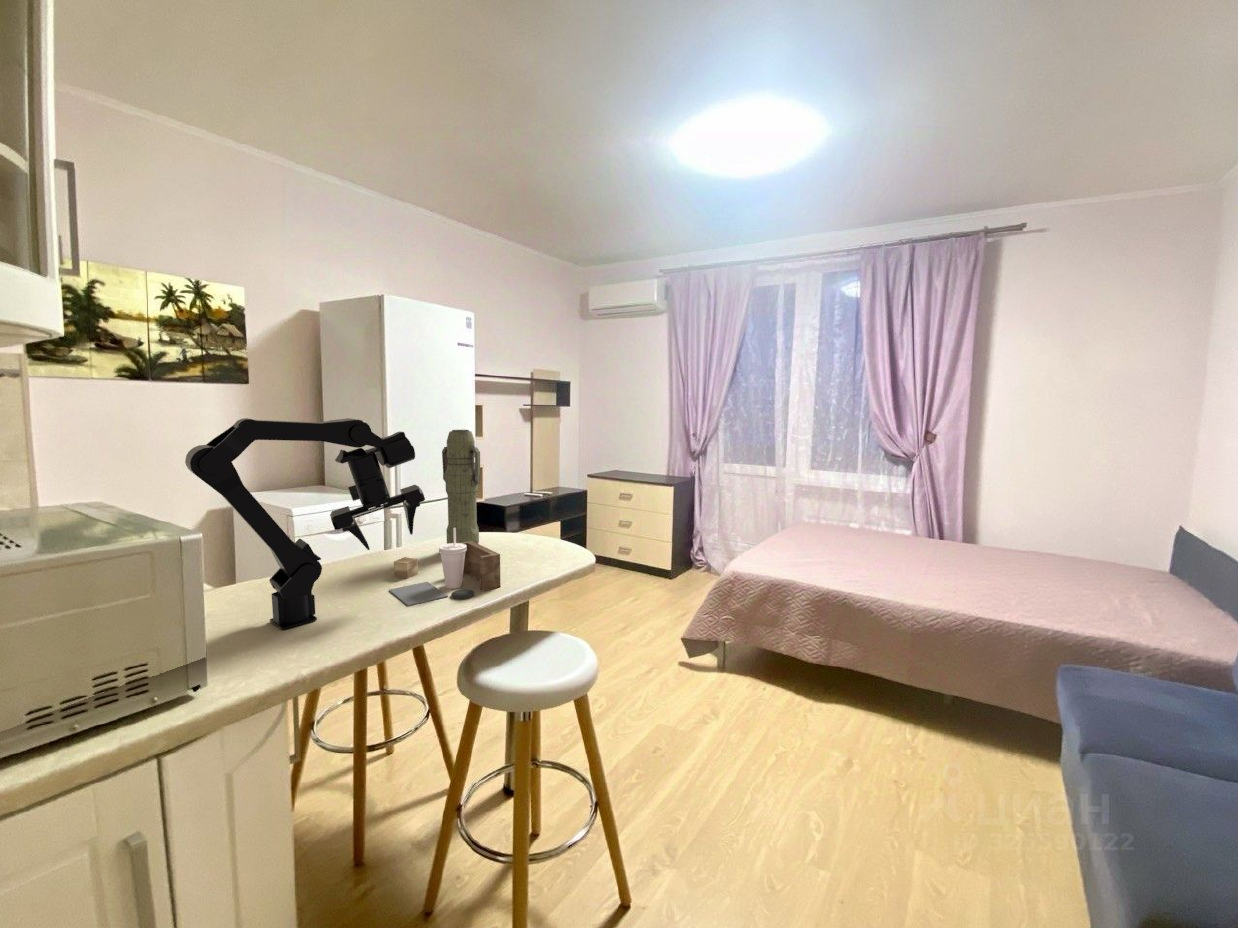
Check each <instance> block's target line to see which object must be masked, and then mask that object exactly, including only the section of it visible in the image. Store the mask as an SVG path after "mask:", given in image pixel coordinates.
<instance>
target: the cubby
mask: <svg viewBox="0 0 1238 928" xmlns="http://www.w3.org/2000/svg"><path fill="white" fill-rule="evenodd" d="M462 544H465V545H466V546H467V550H466V551H465V560H464V569H463V576H464V575H467V574H468V575H470V576H472V577H474V578H475V579H477V580H479V584H480V585H479V586H480V587H479V589H480V590H481V591H482V592H484V591H483V590H485V591H488V590H493V588H494V589H498V588H501V554H500V553H498V552H496V551H495V550H492V549H490V548H488V547H486V546H484V545H481V544H479V543H478V544H477V543H475V542H473V541H468V542H462ZM497 587H498V588H497Z"/></svg>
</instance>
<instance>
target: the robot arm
mask: <svg viewBox="0 0 1238 928" xmlns="http://www.w3.org/2000/svg"><path fill="white" fill-rule="evenodd" d="M258 440H259V441H261V440H262V441H290V442H291V441H297V442H298V441H299V442H301V441H302V442H303V441H304V442H305V441H306V442H324V443H328V444H329V443H330V444H335V445H341V446H345V447H351V448H354V449H352V450H349V451H347V450H345V449H340V450H339V453H338V455H337V456H336V458H335V459H334V461H335V462H336V463H338V464H343V465H344V464H346V463H347V465H348V468H349V470H350V474H351V476H352V479H353V482H354V485H351V486H348V487H347V488H348V491H349V494H350V497H351V499H352V501H353V502H354V501H358V500H359V502H360V503H361V505H362V506H359V507H357V508H353V509H350V507H349V505H347V506H344V507H341V508H338V509H334V510H332V511H331V512H330V514H329V516H330V520H331V523H332V527H333V528H334V530H335V531H336V530H337V531H339V530H342V532H349V533H350V534H352V535H353V536H354V537H356V538H357V540H359V542H360V544H362V545H363V546H364V547H365V548H366V550H367V551H370V546H369V544H368V541H367V539H366V537H365V536H364V533H363V532H362V529H361V528H360V526H359V525H358V522H357V520H356V519H357V518H360V517H363V516H366V515H370V514H371V513H374V512H378V511H381V510H384V509H386V508H390V507H393V506H396V505H399V504H402V505H403V510H404V513H405V520H406V524H407V529H408V532H409V534H410V535H413V531H414V521H415V515H416V510H417V508H418V507H420V506H421V503H422V502H425V501H426V497H425V495H424V492H423V489H421V487H420V486H419V485H417V484H413V485H409V486H407V487H403V488H400V489H399V490H400V494H397V495H393V496H390V492H389V489H388V487H387V484H386V481H385V478H384V475H383V472H382V469H381V466H383V467H384V466H385V467H386V468H387V469H391V468H394V467H397V466H400V465H402V464H406V463H407V462H408V463H409V462H411V461H413V460H415V459H416V452H415V447H414V445H413V444H412V443H411V441H410V439H408V438H407V436H406V433H405V432H404V431H396V432H393V434H391V435H388V436H384V437H381V436H379V435H377V434H376V433H374V432H373V431H372V428H371V427H370V425H369V423H367V422H366V421H364V420H362V419H356V418H338V419H331V420H326V421H319V422H312V421H311V422H310V421H292V420H291V421H287V420H267V419H266V420H265V419H264V420H263V419H252V418H248V417H247V418H245V417H244V418H240V419H238V420H236V422H235V423H234V424H233V425H231V426H230V427H229V428H227V429H226V430H225V431H223V432H222V433H220V434H218V435H216V437H214V438H212V439H211V440H210V441H208V442H207V443H206V444H201V445H196V446H194V447H192V448H191V449H190V450H189V451H188V452H187V454H186V455H185V461H184V463H185V466H186V468H187V469H188V470H189V471H190V472H191V473H192V474H193V475H195V476H196V477H197V478H199V479H200V480H201V481H202V482H204V483H206V485H208V486H209V487H210V488H212V489H213V490H215V492H217V493H218V494H220V495H221V496H222V497H223V499H224V500H226V501H227V503H228V504H229V506H231V507H232V509H234V510H235V512H236V513H237V514H238V515H239V516H240V517H241V519H243V520H244V522H245V523H246V524H247V525H248V526H249V527H250V528H251V529H252V530H253V532H254V533H255V534H256V535H257V536H258V537H259V538H260V540H261V541H262V542H263V543H265V545H266V546H267V547H268V548H269V549H270V551H271V553H272V555H273V557H274V559H275V561H276V563H277V565H278V567H279V568H278V569H277V571H276V572H275V573H274V574H273V575H272V576H271V577H270V578H269V583H270V585H271V587H272V588H273V590H275V592H273V593H271V606H272V607H271V608H272V617H271V618H270V619H269V622H270V623H271V624H272V625H274V626H276V627H277V628H279V629H280V630H287V629H291V628H295V627H298V626H302V625H304V624H308V623H312V622H315V621H317V620H318V617H317V616H316V601H315V600H316V599H315V598H316V597H315V595H314V594H313V593H312V592H313V587H314V585H315V583H316V581H318V580H319V578H320V577H321V575H322V570H323V567H322V564H321V562H320V561H321V560H322V558H321V557H320V556H319V555H317V554H316V553H315V552H314V551H313V549H312V547H311V546H310V544H309V543H308V542H307V541H305V540H303V539H302V538H298V539H297V540H296V541H295V542H294V541H293V540H292V539H291V538H290V537H289V536H288V535H287V533H286V532H285V531H284V530H283V529H282V528H281V527H280V525H279V524H278V523H277V522H276V521H275V519H273V517H272V516H271V514H269V512H267V510H266V509H265V508H264V507H263V505H261V503H260V502H259V501H258V500H257V499H256V497H254V495H252V493H251V492H250V491H249V490H248V489H247V488H246V486H245V485H244V483H243V482H242V481H243V480H241V477H240V475H239V473H238V471H237V469H236V467H235V466H234V464H233V462H234V461H235V460H236V459H238V457H240V455H242V453H244V452H245V451H246V449H247V448H248V447H249V446H250V445H251V444H253V442H255V441H258ZM365 446H368V447H372V448H368V449H364V448H363V447H365Z"/></svg>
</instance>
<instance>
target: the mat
mask: <svg viewBox="0 0 1238 928" xmlns="http://www.w3.org/2000/svg"><path fill="white" fill-rule="evenodd" d="M388 591H389V592H390V594H391V595H394V596H395V597H396V598H397V599H398V600H400V601H401V602H402V603H403V604H404V605H406V606H407V607H411V606H415V605H418V604H422V603H423V604H424V603H428V602H432V601H437V600H440V599H446V598H449V595H448V594H446V593H445V592H443V591H442V590H440V589H439V588H437V586H434V585H433V584H432V583H430V582H429V581H424V582H418V583H414V584H409V585H403V586H399V587H395V588H391V589H388Z"/></svg>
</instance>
